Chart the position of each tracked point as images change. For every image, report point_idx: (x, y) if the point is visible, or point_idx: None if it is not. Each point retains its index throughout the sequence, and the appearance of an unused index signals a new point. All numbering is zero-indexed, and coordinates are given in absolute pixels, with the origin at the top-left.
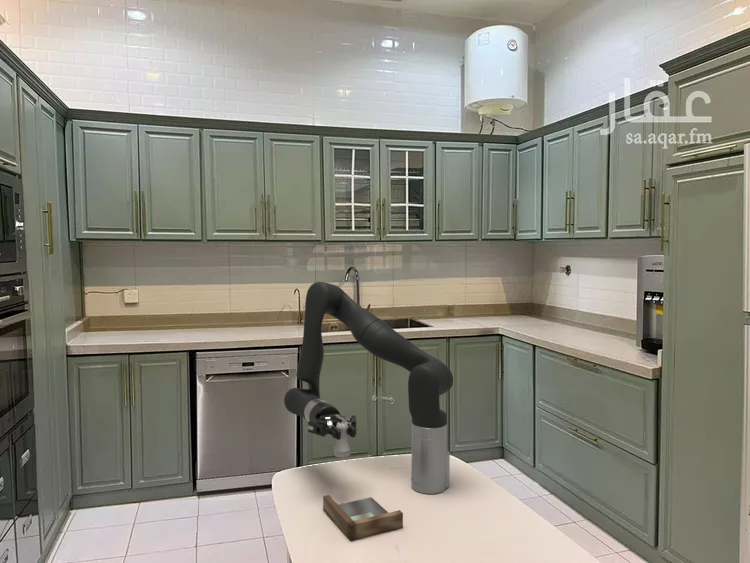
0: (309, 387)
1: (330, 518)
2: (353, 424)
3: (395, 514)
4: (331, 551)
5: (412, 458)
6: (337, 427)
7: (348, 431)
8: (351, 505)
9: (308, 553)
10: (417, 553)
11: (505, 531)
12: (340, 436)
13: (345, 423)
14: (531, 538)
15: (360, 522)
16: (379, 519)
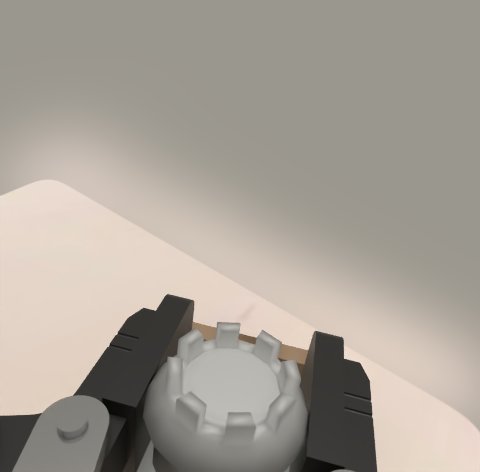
0: None
1: None
2: (4, 423)
3: (194, 323)
4: (388, 388)
5: None
6: (300, 397)
7: None
8: None
9: (450, 417)
10: (226, 285)
11: (35, 235)
12: (306, 361)
13: (180, 368)
14: (36, 211)
15: (303, 352)
16: (245, 337)
